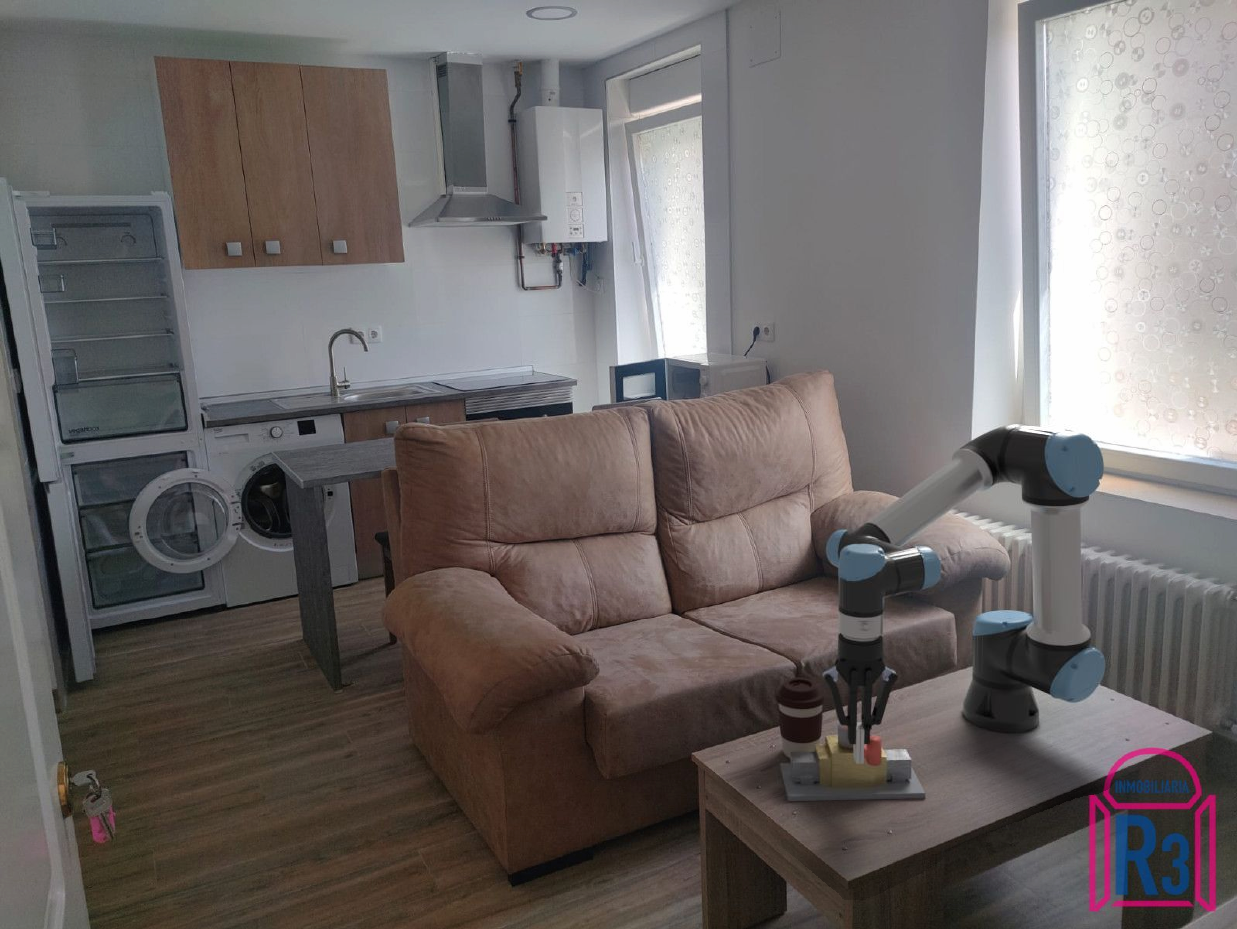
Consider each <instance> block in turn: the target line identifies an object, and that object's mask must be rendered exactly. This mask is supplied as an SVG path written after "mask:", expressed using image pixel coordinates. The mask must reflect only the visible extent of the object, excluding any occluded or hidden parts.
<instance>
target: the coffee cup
mask: <svg viewBox="0 0 1237 929" xmlns="http://www.w3.org/2000/svg"><path fill="white" fill-rule="evenodd" d="M774 694H775V695H774V696H775V698H774V699H775V701H776V702H777V704H778V707H777V712H778V722H779V723H778V724H779V731H780V732H779V734H780V736H781V742H782V743H781V744H782V751H783V752H782V753H783V754H784V755H785V756H786V757H787V758H788V759H790V752H815V744H821V737H822V734H823V732H822V730H823V718H824V717H823V715H824V714H823V713H824V708H823V705H824V703H825V702H826V691H825V689H824V688H823V687H821V686H820V685H818V684H817V682H815V681H814V680H812V679H810V678H806V677H792V678H788V679H785V681H784V682H783V683H782V684H780V685H778V686H777V687H776V688H775V690H774Z"/></svg>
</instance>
